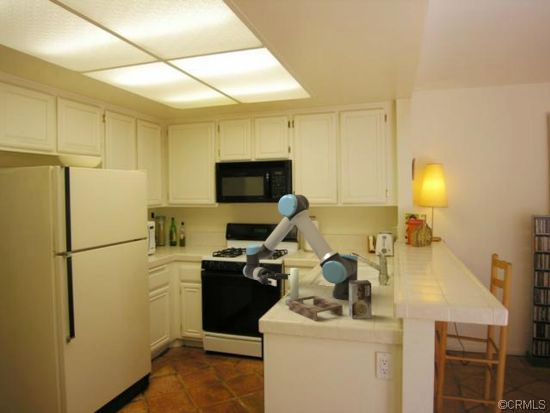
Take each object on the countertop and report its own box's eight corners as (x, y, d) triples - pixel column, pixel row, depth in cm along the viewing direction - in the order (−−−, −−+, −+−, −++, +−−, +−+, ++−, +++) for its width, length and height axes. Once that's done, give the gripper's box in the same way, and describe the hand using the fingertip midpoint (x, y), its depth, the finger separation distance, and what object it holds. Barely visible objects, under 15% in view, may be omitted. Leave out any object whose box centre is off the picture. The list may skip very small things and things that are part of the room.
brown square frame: (288, 309, 187) (288, 300, 187) (314, 304, 195) (314, 295, 195) (315, 321, 170) (315, 311, 169) (342, 314, 178) (342, 305, 178)
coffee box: (367, 314, 179) (368, 279, 179) (371, 318, 173) (372, 282, 172) (348, 314, 179) (348, 279, 178) (351, 319, 173) (351, 283, 172)
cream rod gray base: (296, 300, 203) (296, 266, 202) (306, 304, 195) (306, 269, 195) (282, 303, 198) (282, 268, 197) (292, 307, 190) (292, 271, 190)
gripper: (279, 278, 225) (304, 285, 209) (244, 284, 210) (267, 292, 193) (279, 265, 225) (304, 271, 208) (243, 271, 210) (267, 277, 193)
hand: (286, 281), depth 201 cm, fingers open, 13 cm apart
